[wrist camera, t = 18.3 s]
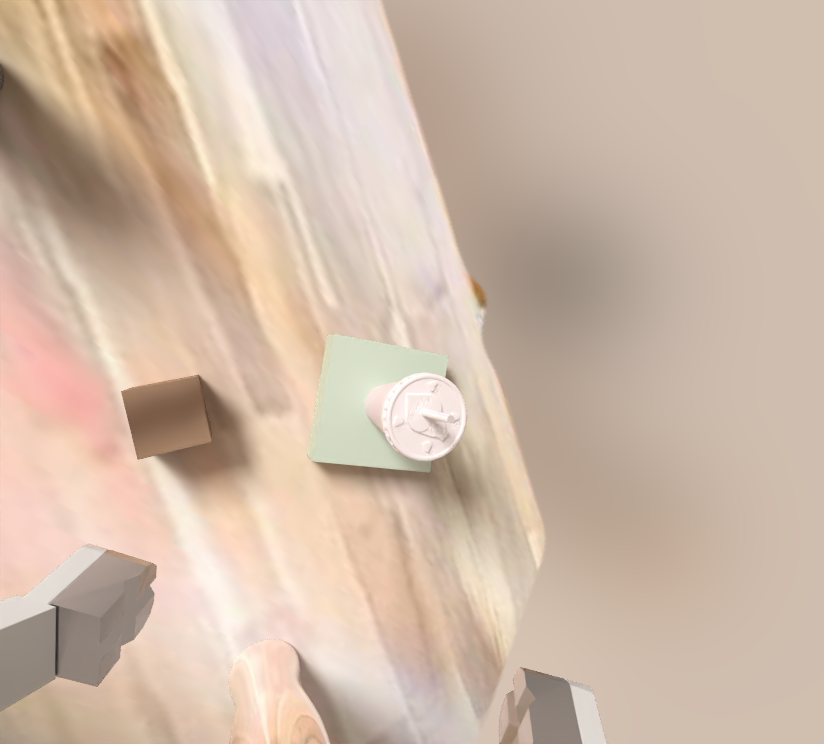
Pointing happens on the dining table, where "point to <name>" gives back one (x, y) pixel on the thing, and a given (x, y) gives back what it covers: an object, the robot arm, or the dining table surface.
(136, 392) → the brick
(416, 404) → the smoothie
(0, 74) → the beverage cup
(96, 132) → the dining table surface
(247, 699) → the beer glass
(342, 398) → the pedestal
